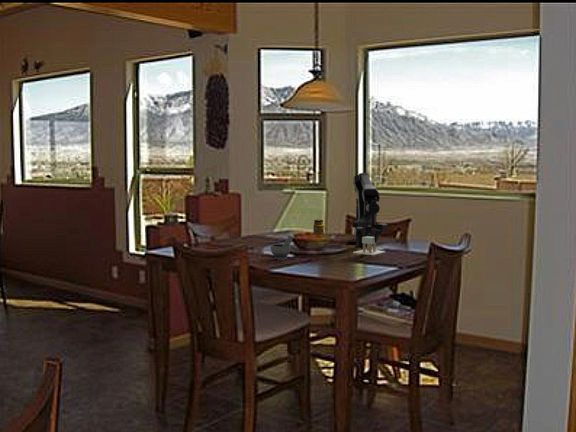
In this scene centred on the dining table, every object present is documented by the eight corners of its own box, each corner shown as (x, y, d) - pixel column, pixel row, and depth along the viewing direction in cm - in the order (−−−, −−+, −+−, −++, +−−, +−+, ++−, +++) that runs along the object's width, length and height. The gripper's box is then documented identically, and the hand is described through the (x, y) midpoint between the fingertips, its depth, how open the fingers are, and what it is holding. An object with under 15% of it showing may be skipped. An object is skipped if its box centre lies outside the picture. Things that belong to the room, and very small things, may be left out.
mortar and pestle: (270, 261, 336) (270, 236, 335) (270, 257, 346) (270, 233, 344) (294, 260, 337) (294, 236, 335) (293, 257, 346) (293, 233, 345)
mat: (353, 252, 360) (353, 251, 360) (366, 250, 369) (366, 249, 369) (372, 255, 352) (372, 254, 352) (385, 252, 361) (385, 251, 361)
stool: (361, 251, 360) (362, 237, 359) (367, 250, 364) (367, 236, 364) (370, 252, 357) (371, 238, 356) (376, 251, 361) (376, 237, 360)
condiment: (326, 240, 404) (326, 220, 403) (314, 241, 400) (314, 221, 398) (319, 239, 410) (319, 218, 409) (307, 240, 406) (307, 219, 404)
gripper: (345, 212, 358) (345, 242, 360) (376, 214, 346) (376, 245, 348) (358, 210, 367) (357, 239, 368) (388, 212, 355) (388, 243, 356)
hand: (369, 242), depth 360 cm, fingers open, 7 cm apart
